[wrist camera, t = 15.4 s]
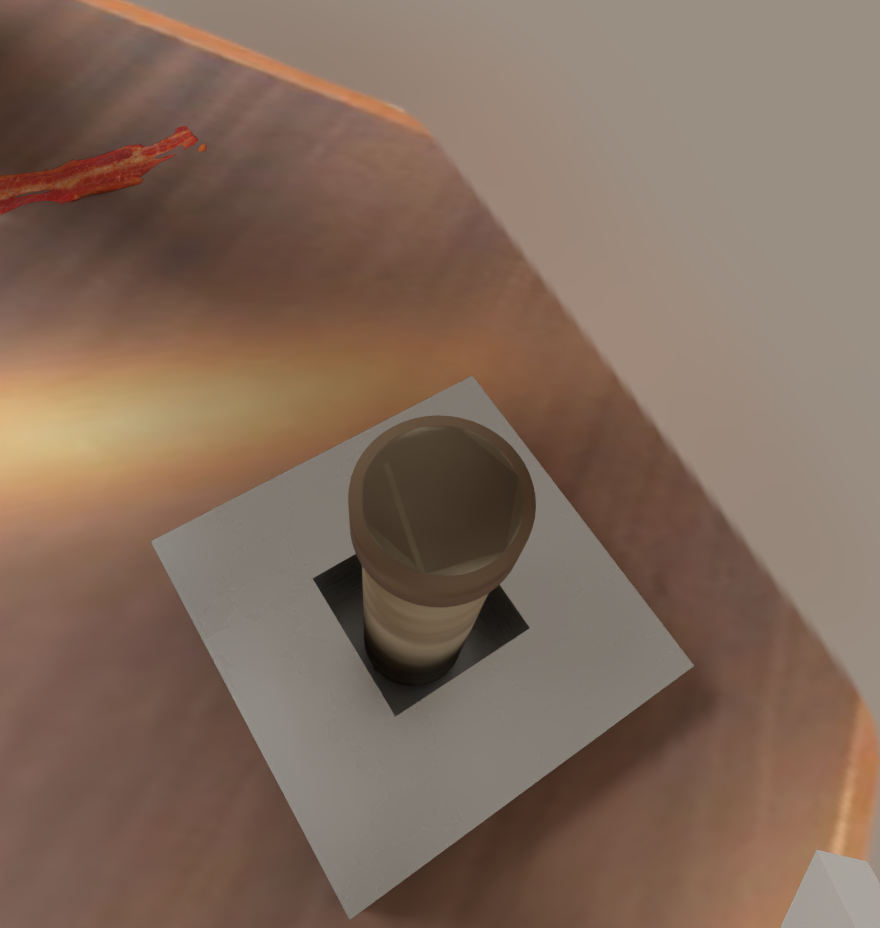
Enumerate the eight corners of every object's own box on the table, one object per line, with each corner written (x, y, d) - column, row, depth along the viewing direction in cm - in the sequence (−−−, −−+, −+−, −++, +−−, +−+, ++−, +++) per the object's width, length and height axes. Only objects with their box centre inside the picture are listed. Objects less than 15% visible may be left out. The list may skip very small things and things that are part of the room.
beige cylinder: (335, 618, 31) (313, 468, 19) (429, 561, 33) (467, 387, 20) (395, 717, 30) (414, 625, 17) (491, 653, 31) (573, 526, 19)
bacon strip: (216, 164, 43) (214, 155, 42) (-67, 254, 39) (-73, 245, 38) (190, 120, 44) (188, 111, 44) (-87, 203, 40) (-94, 194, 39)
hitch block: (180, 584, 32) (150, 541, 27) (459, 433, 36) (472, 375, 32) (352, 908, 27) (349, 920, 23) (647, 691, 32) (694, 665, 27)
